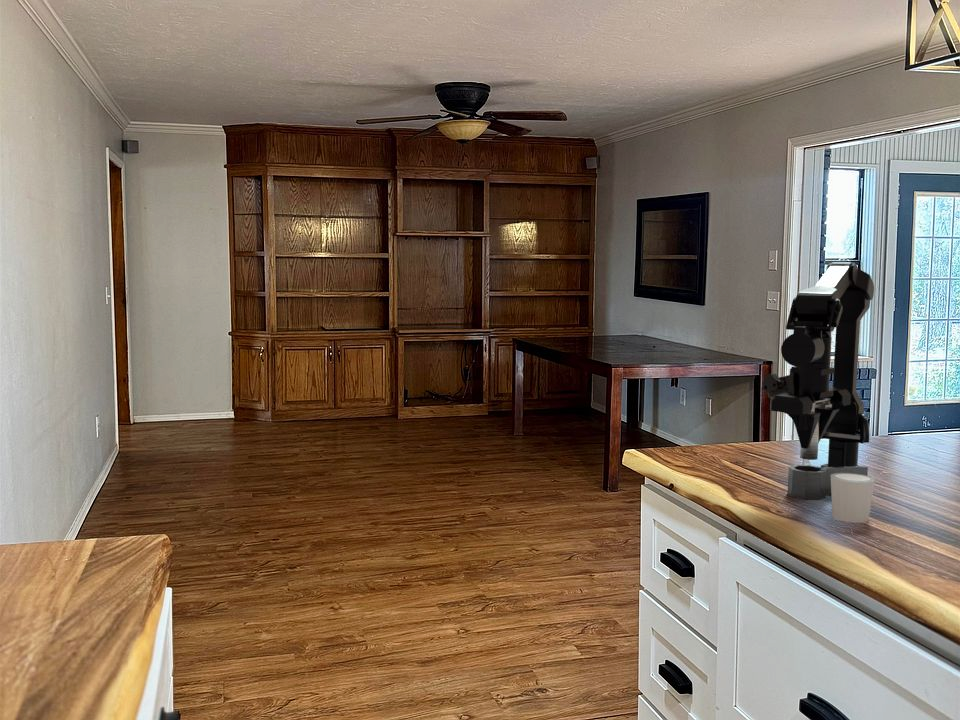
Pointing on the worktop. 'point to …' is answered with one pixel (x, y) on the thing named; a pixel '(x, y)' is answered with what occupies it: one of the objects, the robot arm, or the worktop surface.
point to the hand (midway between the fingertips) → (809, 447)
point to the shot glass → (851, 496)
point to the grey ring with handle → (815, 479)
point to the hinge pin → (811, 446)
